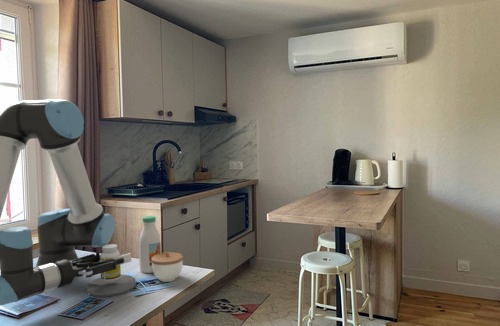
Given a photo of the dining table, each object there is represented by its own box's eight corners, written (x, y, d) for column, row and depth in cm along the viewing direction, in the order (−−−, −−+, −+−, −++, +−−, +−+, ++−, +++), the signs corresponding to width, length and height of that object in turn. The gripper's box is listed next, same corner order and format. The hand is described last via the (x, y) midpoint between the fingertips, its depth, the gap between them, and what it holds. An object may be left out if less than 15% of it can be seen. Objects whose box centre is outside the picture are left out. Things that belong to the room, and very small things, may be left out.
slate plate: (78, 289, 122) (77, 284, 122) (118, 275, 134) (118, 271, 134) (103, 301, 113) (103, 296, 113) (144, 285, 125) (144, 280, 125)
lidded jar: (176, 285, 124) (175, 257, 124) (146, 283, 126) (145, 256, 126) (187, 274, 135) (187, 248, 134) (160, 272, 137) (159, 247, 136)
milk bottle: (141, 274, 134) (139, 220, 133) (138, 268, 141) (136, 216, 140) (163, 271, 137) (161, 217, 136) (159, 265, 144) (157, 214, 143)
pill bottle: (124, 276, 125) (123, 243, 124) (113, 283, 119) (112, 249, 118) (108, 274, 127) (107, 242, 126) (96, 281, 121) (95, 247, 120)
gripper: (40, 280, 114) (108, 260, 133) (72, 296, 103) (142, 271, 121) (39, 256, 114) (108, 240, 132) (71, 269, 102) (141, 249, 121)
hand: (124, 255), depth 127 cm, fingers closed on pill bottle, 6 cm apart
